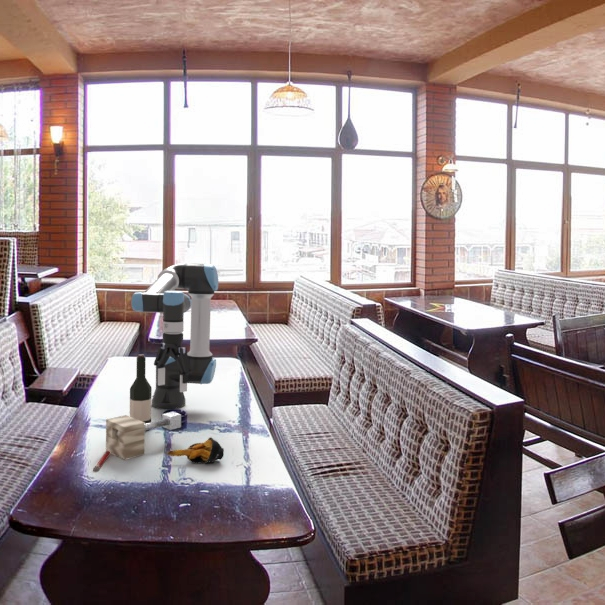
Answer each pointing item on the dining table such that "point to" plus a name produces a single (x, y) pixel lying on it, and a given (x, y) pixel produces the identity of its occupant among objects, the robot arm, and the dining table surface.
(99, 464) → the flare
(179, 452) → the fried shrimp in bowl
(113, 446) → the eye block
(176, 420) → the pull pin
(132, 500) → the dining table surface
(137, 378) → the wine bottle
